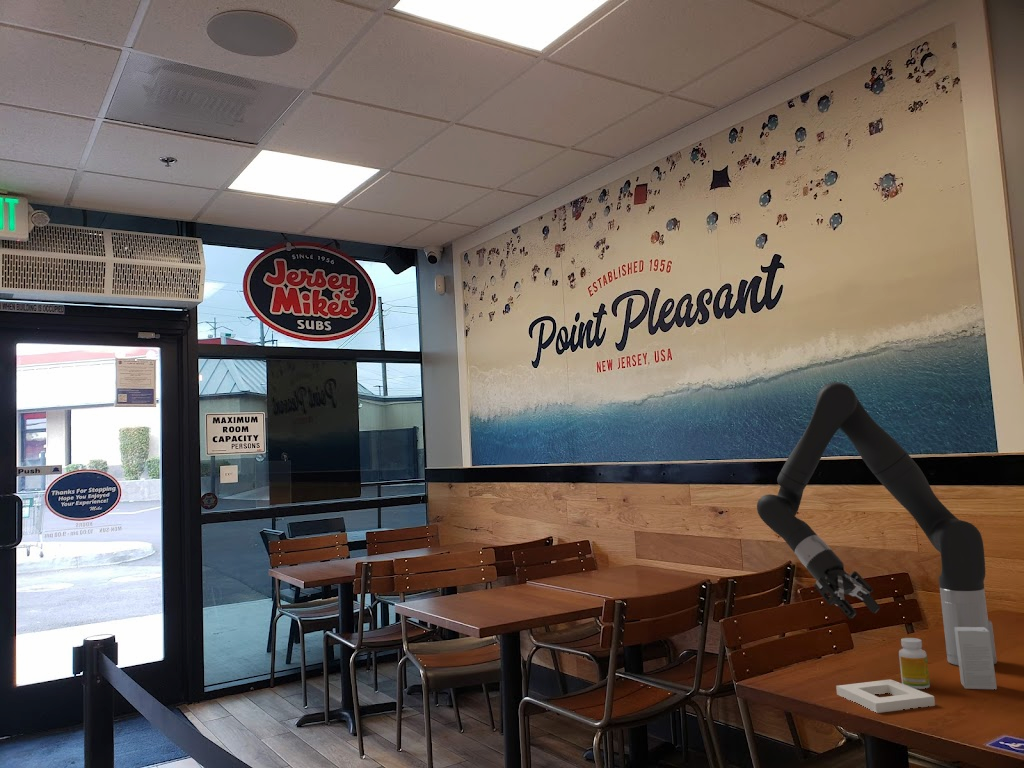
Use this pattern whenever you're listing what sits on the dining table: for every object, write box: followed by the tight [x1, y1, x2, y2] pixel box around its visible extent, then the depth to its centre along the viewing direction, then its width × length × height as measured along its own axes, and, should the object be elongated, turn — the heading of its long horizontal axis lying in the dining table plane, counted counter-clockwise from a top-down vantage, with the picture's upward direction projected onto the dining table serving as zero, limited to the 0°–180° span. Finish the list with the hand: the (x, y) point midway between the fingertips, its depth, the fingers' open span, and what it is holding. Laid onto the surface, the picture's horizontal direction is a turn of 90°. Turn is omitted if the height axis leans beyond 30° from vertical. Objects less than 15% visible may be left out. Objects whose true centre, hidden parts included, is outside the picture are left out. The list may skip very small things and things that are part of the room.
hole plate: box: [835, 678, 936, 714], centre depth 159 cm, size 13×13×2 cm
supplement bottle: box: [898, 637, 931, 690], centre depth 168 cm, size 5×5×10 cm
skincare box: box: [954, 627, 998, 691], centre depth 165 cm, size 6×4×12 cm
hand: (865, 613), depth 178 cm, fingers open, 8 cm apart
